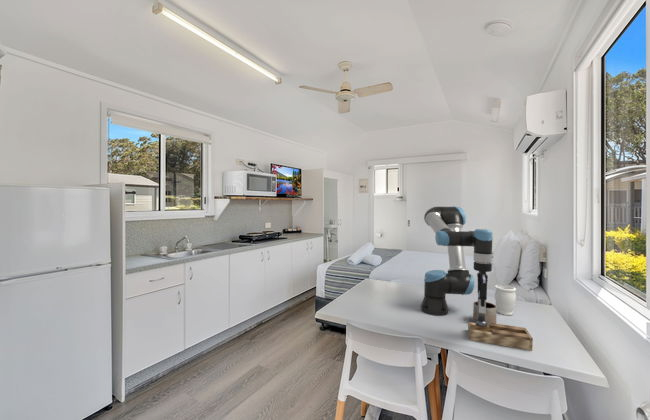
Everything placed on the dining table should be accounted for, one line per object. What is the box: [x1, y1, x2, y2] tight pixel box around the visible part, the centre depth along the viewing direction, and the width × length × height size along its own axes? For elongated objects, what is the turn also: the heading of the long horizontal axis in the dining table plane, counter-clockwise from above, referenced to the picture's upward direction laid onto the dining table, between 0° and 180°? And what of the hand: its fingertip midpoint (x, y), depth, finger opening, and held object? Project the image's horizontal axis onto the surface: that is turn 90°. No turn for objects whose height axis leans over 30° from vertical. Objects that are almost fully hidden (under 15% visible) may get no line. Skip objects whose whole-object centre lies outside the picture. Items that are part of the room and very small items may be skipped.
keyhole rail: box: [467, 321, 534, 351], centre depth 132 cm, size 24×11×5 cm, turn 68°
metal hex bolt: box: [474, 290, 487, 327], centre depth 134 cm, size 5×5×16 cm
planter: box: [472, 300, 497, 325], centre depth 151 cm, size 11×11×10 cm
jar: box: [494, 284, 517, 316], centre depth 165 cm, size 11×10×15 cm
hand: (481, 311), depth 134 cm, fingers closed on metal hex bolt, 3 cm apart
